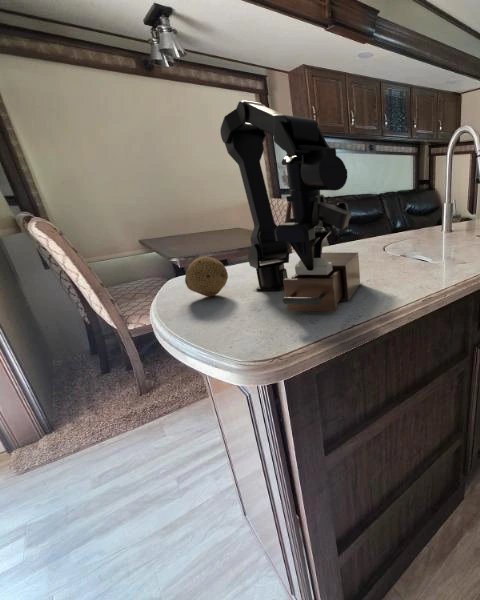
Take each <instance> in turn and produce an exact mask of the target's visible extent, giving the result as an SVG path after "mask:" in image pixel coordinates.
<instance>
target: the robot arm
mask: <svg viewBox="0 0 480 600" xmlns="http://www.w3.org/2000/svg"><path fill="white" fill-rule="evenodd" d="M268 135H271V136H273V142H274V143H275V144H276V145H277V146H278V147H279V148H280V149H281V150H282V151H284V152H285V153H286V155H285V156H284V157H283V158H282V159H281V165H282V166H286V173H287V174H286V175H287V181H288V188H289V195H286V202H287V203H290V204H291V213H292V217H289V222H284V223H282V224H281V223H280V224H278V225H277V224H276V222H275V219H274V218H275V217H274V215H273V211H272V207H271V202H270V199H269V194H268V190H267V186H266V181H265V177H264V173H263V169H262V165H261V160H262V157H263V154H264V151H265V147H264V143H265V141H266V139H267V137H268ZM220 138H221V141H222V142H223V143H224V145H225V148H226V152H227V154H228V155H229V157H230V158H232V160H234V162H235V163H236V164H237V165H238V168H239V172H240V176H241V179H242V183H243V187H244V191H245V194H246V195H245V196H246V199H247V204H248V207H249V210H250V214H251V219H252V223H253V229H252V232H251V235H250V244H251V246H250V249H249V252H248V256H247V261H248V264H249V266H250V267H252V268H254V269H255V271H256V276H257V282H258V286H257V287H255V289H256V291H281V290H283V289H284V283H283V280H284V279H285V278H289V277H288V272H287V271H288V270H287V268H285V264H288V263H289V262H290V247H291V248H292V249H293V251H294V252H295V253H296V255H297V256H298V258H299V259H300V260H301V261H302V262H303V264H304V265H305V267H306V269H307V270H308V271H312V270H313V266H314V258H321V253H323V247H324V242H325V239H326V238H327V237H328V236H329V235H330V234H331V233H332V231H331V230H326V228H330V229H335V228H336V229H338V230H344V229H346V228H348V225H349V222H350V219H351V218H352V210H350V209H349V204H348V203H347V202H343V201H339V202H338V203H337V204H336V205H335V204H330V203H328V202H327V201H326V196H324V194H321V191H339V190H341V189H343V187H344V186H345V185H346V183H347V181H348V169H347V168H346V165H345V162H344V161H343V160H342V159H341V158H340V157H339V156H338V155H337V149H336V148H335V147H330V145H329V144H328V143H327V141H326V138H325V137H324V135H323V132H322V130H321V129H320V127H319V124H318V122H317V121H316V120H315V119H314V118H310V117H304V116H296V115H289V114H284V113H281V112H280V111H277V110H274V109H272V108H270V107H267V106H266V105H265V104H263V103H261V102H256V101H249V100H242V101H241V100H240V101H239V102H238V104H237V106H236V108H235V109H234V110H231V111H230V112H229V113H227V114H226V115H224V117H223V120H222V123H221V126H220Z"/></svg>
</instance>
